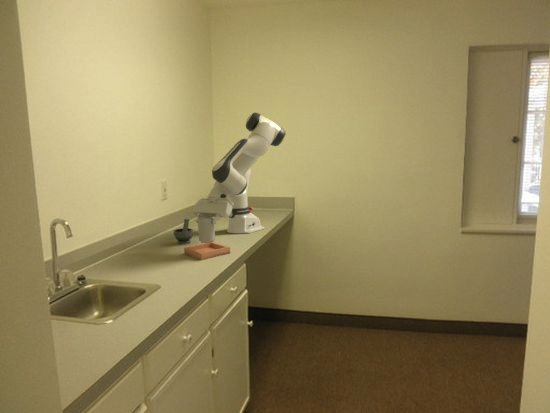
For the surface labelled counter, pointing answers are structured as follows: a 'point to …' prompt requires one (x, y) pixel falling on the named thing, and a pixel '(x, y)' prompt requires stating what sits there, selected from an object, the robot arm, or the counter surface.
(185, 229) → the mortar and pestle
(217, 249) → the dish
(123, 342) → the counter surface
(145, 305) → the counter surface
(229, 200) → the robot arm
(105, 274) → the counter surface
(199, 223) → the can
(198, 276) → the counter surface
